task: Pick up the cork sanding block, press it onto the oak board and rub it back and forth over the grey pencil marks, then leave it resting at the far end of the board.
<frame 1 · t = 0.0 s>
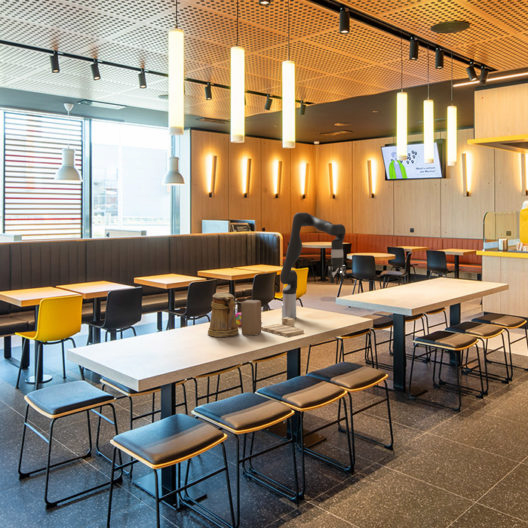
hand: (337, 282, 335), 29 cm above the table, tool pointing down, fingers open, 8 cm apart
board: (282, 331, 332), on the table
wooden block: (251, 333, 328), on the table
pencil case: (246, 324, 357), on the table
tankard: (225, 335, 326), on the table
sanding block: (288, 326, 345), on the table
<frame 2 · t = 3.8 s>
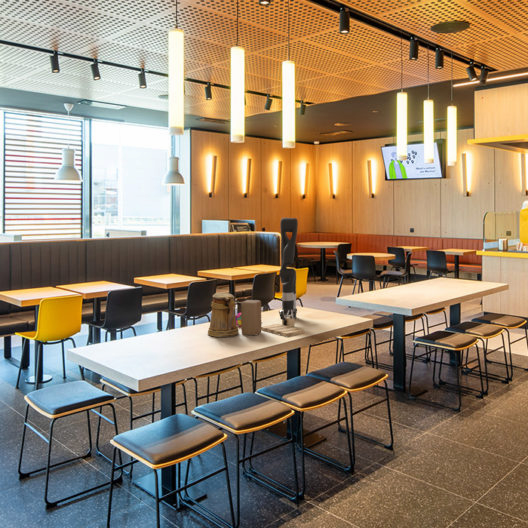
hand: (288, 325, 345), 1 cm above the table, tool pointing down, fingers closed on sanding block, 4 cm apart
sanding block: (288, 326, 345), on the table, touching gripper
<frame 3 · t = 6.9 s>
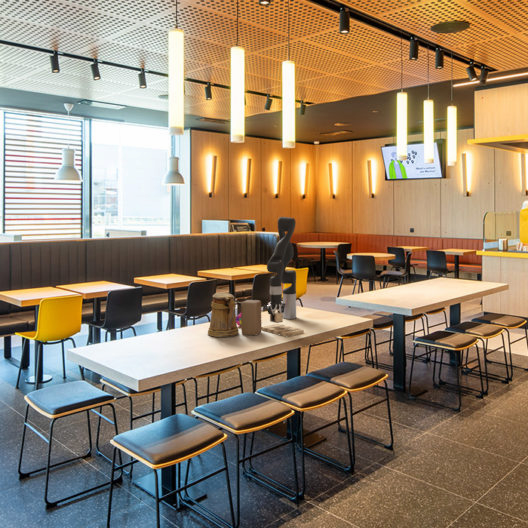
hand: (276, 320, 336), 6 cm above the table, tool pointing down, fingers closed on sanding block, 4 cm apart
sanding block: (276, 321, 336), point 5 cm above the table, touching gripper
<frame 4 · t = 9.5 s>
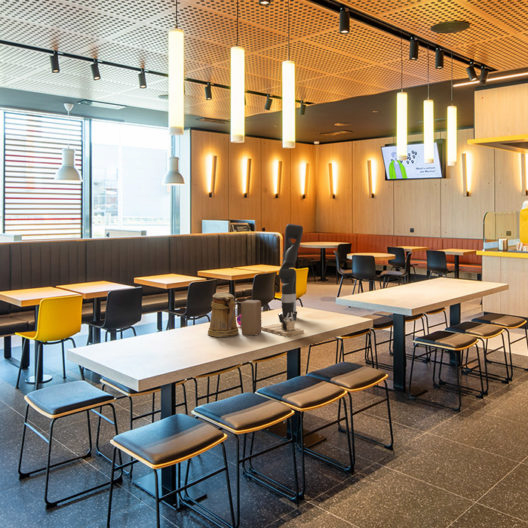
hand: (288, 328, 327), 3 cm above the table, tool pointing down, fingers closed on sanding block, 4 cm apart
sanding block: (288, 329, 327), point 2 cm above the table, touching gripper
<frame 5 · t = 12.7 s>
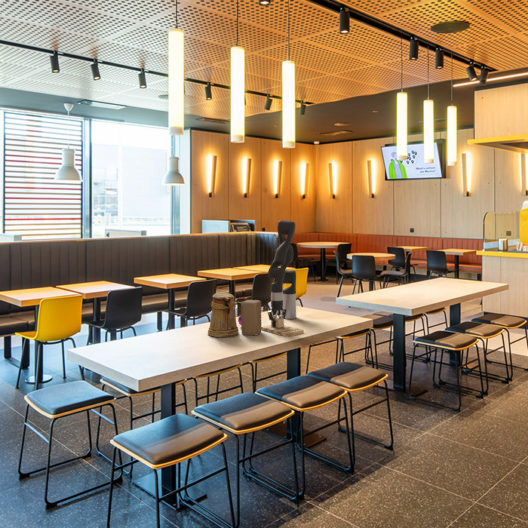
hand: (277, 326, 335), 3 cm above the table, tool pointing down, fingers closed on sanding block, 4 cm apart
sanding block: (277, 327, 335), point 2 cm above the table, touching gripper
when the fingers open (3 cm above the table, at t = 15.5 s): sanding block stays where it is, resting on board.
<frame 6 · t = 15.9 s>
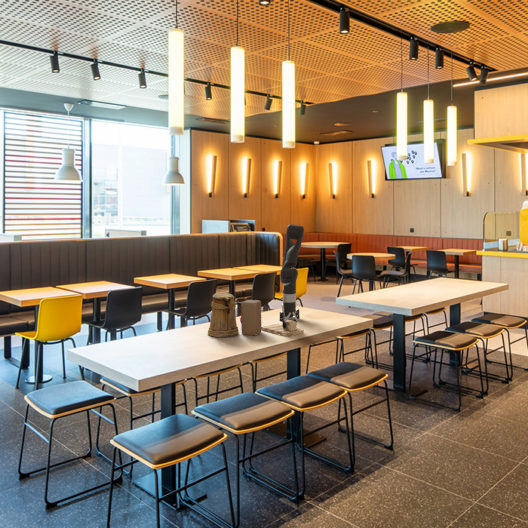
hand: (289, 327, 326), 4 cm above the table, tool pointing down, fingers open, 8 cm apart
sanding block: (290, 330, 326), point 2 cm above the table, touching board
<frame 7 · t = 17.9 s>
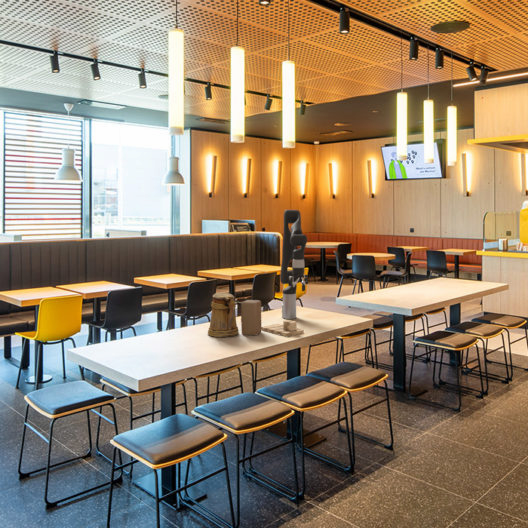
hand: (298, 291, 337), 23 cm above the table, tool pointing down, fingers open, 8 cm apart
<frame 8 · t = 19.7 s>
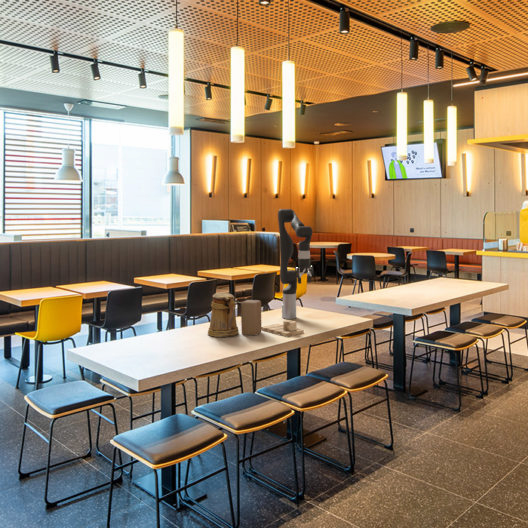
hand: (304, 282, 344), 28 cm above the table, tool pointing down, fingers open, 8 cm apart
at the end: sanding block inside the target area on the board (7.1 cm from its centre), point 2.0 cm above the board's base; sanding block tilted 0°; sanding block moved 19.4 cm from its start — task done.
